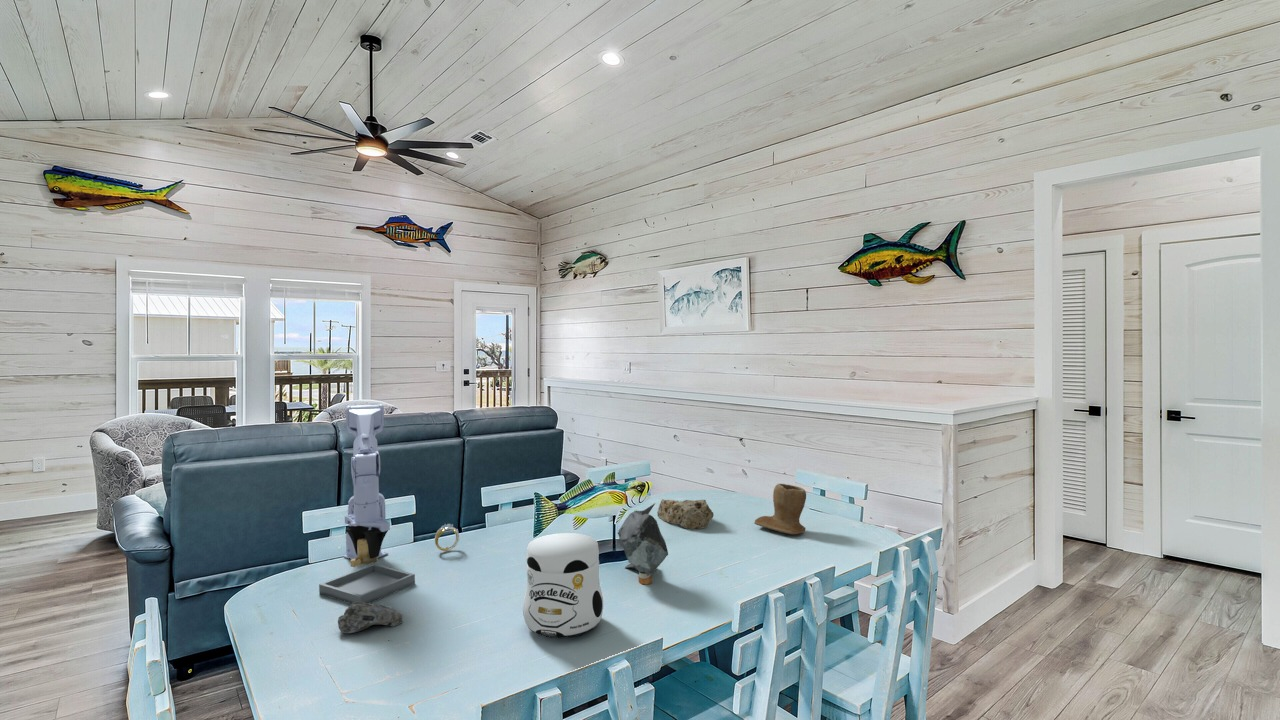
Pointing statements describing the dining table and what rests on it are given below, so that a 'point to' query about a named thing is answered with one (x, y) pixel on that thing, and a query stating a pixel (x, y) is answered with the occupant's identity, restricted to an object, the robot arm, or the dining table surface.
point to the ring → (443, 532)
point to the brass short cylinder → (362, 553)
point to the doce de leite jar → (562, 585)
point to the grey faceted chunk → (643, 544)
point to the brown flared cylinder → (785, 510)
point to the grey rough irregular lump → (367, 617)
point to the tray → (367, 584)
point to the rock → (686, 513)
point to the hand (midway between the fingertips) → (367, 555)
